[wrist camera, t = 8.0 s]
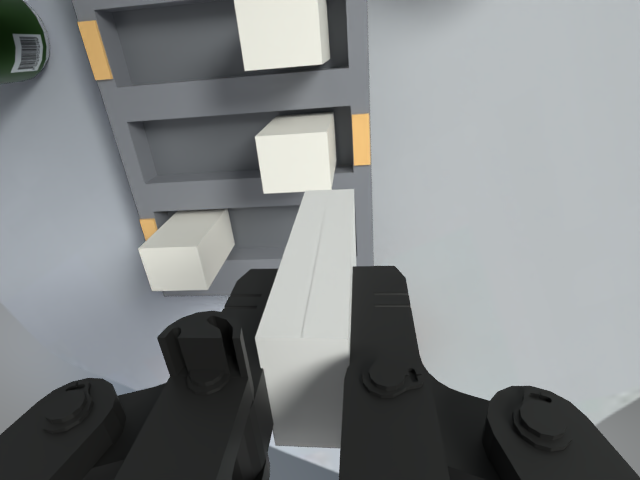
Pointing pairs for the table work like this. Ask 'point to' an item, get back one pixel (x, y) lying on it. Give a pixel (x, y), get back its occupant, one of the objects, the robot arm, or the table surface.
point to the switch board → (224, 118)
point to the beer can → (21, 42)
